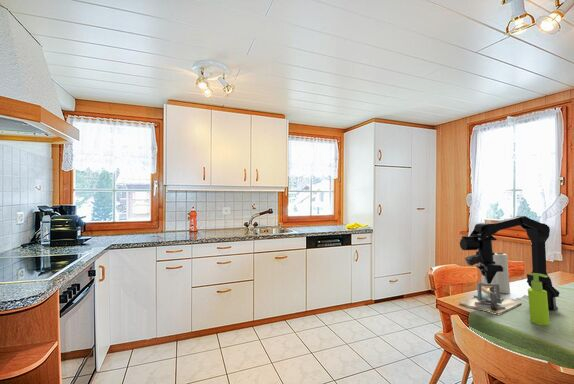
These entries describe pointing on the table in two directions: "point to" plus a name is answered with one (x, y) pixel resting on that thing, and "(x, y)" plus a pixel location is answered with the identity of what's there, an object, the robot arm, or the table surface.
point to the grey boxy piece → (484, 283)
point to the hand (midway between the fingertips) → (487, 282)
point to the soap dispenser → (538, 301)
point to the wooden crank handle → (492, 296)
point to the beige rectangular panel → (489, 304)
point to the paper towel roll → (502, 273)
